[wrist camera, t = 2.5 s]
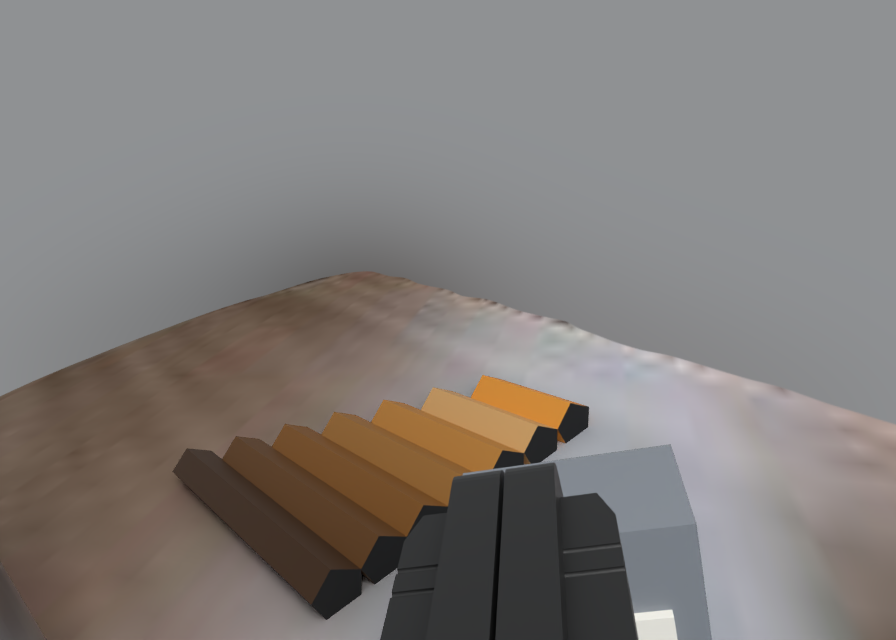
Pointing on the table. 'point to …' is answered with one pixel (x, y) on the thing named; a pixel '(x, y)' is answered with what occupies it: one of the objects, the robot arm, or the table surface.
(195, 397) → the table surface
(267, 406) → the table surface
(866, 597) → the table surface
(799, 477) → the table surface
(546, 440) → the pan flute
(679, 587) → the slate block
